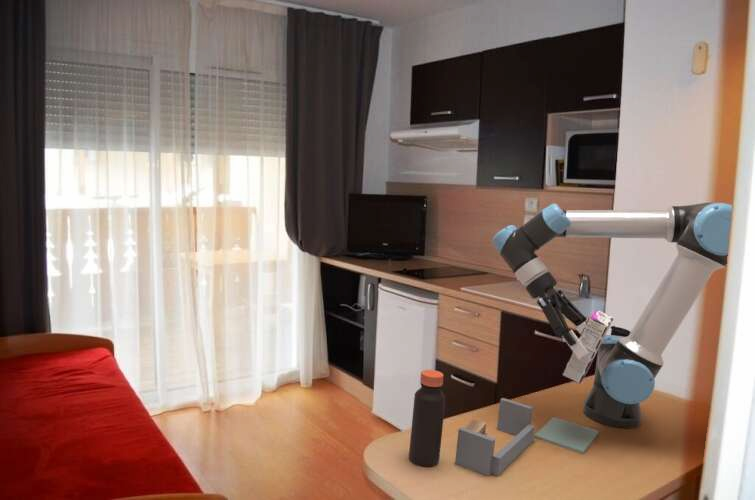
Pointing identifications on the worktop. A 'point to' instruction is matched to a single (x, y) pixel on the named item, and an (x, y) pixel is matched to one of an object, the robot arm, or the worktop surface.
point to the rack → (480, 448)
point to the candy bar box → (588, 345)
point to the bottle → (427, 420)
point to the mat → (567, 435)
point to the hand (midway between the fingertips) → (590, 350)
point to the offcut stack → (476, 426)
